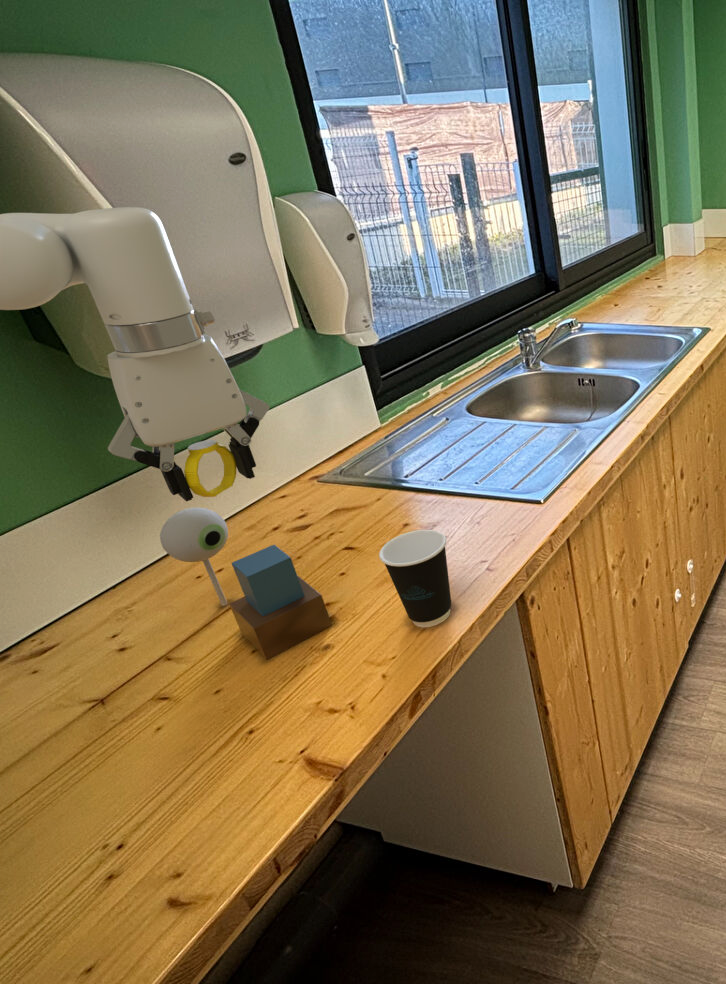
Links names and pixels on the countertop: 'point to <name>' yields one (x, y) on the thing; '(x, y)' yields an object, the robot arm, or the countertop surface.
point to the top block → (268, 579)
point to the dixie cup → (420, 575)
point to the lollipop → (196, 539)
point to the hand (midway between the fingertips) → (216, 484)
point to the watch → (193, 463)
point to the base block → (282, 622)
